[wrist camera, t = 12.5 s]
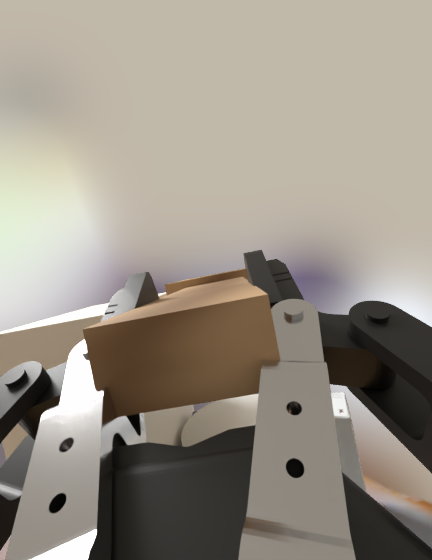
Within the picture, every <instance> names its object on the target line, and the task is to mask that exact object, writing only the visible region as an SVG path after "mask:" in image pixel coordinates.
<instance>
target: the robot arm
mask: <svg viewBox="0 0 432 560" xmlns="http://www.w3.org/2000/svg"><path fill="white" fill-rule="evenodd" d="M244 261H245V266H246V273H247V279H248V282H249V283H250V284H251V285H253V286H257V287H258V288H260V289H261V290H263V291H264V292H265V293H267V294H268V297H269V302H270V307H271V313H272V318H273V323H274V328H275V333H276V339H277V344H278V349H279V354H280V360H263V361H262V365H261V375H260V385H259V395H258V405H257V415H256V425H253V426H246V427H240V428H234V429H229V430H226V431H224V432H222V433H219V434H217V435H215V436H212V437H210V438H208V439H206V440H203V441H201V442H199V443H196V444H194V445H192V446H188V447H182V446H174V445H166V444H158V443H150V442H147V441H146V431H145V421H144V413H140V414H134V415H128V416H122V417H118V416H117V413H116V410H115V407H114V404H113V401H112V398H111V396H110V393H109V390H108V387H105V388H102V389H100V390H97V391H95V386H94V381H93V377H92V372H91V367H90V362H89V358H88V353H87V348H86V343H85V340H83V341H82V342H80V343H79V344H78V345H77V346H76V347H75V348H74V349H73V350H72V351H71V353H70V355H69V358H68V361H67V362H65V363H63V364H60V365H58V366H55V367H53V368H51V369H48V370H45V369H44V368H43V366H42V365H41V364H40V363H39V362H36V361H29V362H25V363H22V364H20V365H18V366H16V367H14V368H12V369H11V370H9V371H8V372H6V373H5V374H4V375H3V376H2V377H0V443H1V442H2V441H3V440H4V439H5V437H6V436H7V435H8V434H9V433H10V432H11V430H12V429H13V428H14V427H15V426H16V425H17V423H18V424H19V425H20V426H21V427H22V428H23V429H24V430H25V431H26V432H27V433H28V434H27V436H26V437H25V438H24V439H23V441H22V442H21V443H20V444H19V445H18V447H17V448H16V449H15V450H14V452H13V453H12V454H11V455H10V457H9V458H8V459H7V460H6V462H5V463H4V464H3V465H2V467H1V468H0V550H1V549H2V547H3V546H4V544H5V543H6V541H7V540H8V538H9V537H10V535H11V538H10V542H9V546H8V550H7V553H6V557H5V560H432V549H431V548H430V547H429V546H428V545H427V544H426V543H424V542H423V541H422V540H421V539H420V538H419V537H417V536H416V535H415V534H414V533H413V532H412V531H410V530H409V529H408V528H407V527H406V526H405V525H403V524H402V523H401V522H400V521H399V520H398V519H396V518H395V517H394V516H393V515H392V514H391V513H389V512H388V511H387V510H386V509H385V508H384V507H382V506H381V505H380V504H379V503H378V502H377V501H375V500H374V499H373V498H372V497H371V496H370V495H369V494H367V493H366V492H365V491H364V490H363V489H362V488H360V487H359V486H358V485H357V484H356V483H355V482H353V481H352V480H351V479H350V478H349V477H348V476H346V475H345V474H344V473H343V472H342V470H341V463H340V456H339V448H338V441H337V434H336V426H335V419H334V412H333V405H332V397H331V390H330V384H333V385H342V386H347V387H348V389H349V390H350V391H351V392H352V393H353V394H354V395H355V396H356V397H357V398H358V399H359V400H360V401H361V402H362V403H363V404H364V405H365V406H366V407H367V408H368V409H369V410H370V411H371V412H372V413H373V414H374V415H375V416H376V417H377V418H378V420H379V421H381V423H382V424H384V425H385V427H386V428H387V429H389V431H390V432H391V433H392V434H393V435H394V436H395V437H396V438H397V439H398V440H399V441H400V442H401V443H402V444H403V445H404V446H405V447H406V448H407V449H408V450H409V451H410V452H411V453H412V454H413V455H414V456H415V457H416V458H417V459H418V460H419V461H420V462H421V463H422V464H423V465H424V466H425V467H426V468H427V469H428V470H429V471H430V472H431V473H432V327H430V326H428V325H427V324H425V323H423V322H422V321H420V320H418V319H416V318H415V317H413V316H411V315H409V314H408V313H406V312H404V311H403V310H401V309H399V308H397V307H396V306H393V305H391V304H388V303H385V302H380V301H364V302H360V303H358V304H356V305H354V306H353V307H352V308H351V309H350V311H349V315H334V314H326V313H321V312H318V311H317V309H316V307H315V306H314V305H312V304H311V303H309V302H308V301H305V300H304V299H303V297H302V295H301V293H300V291H299V289H298V287H297V286H296V284H295V282H294V280H293V279H292V276H291V274H290V273H289V270H288V269H287V267H286V265H285V264H284V263H282V262H280V261H279V260H277V259H274V260H269V261H266V259H265V257H264V255H263V252H262V250H258V251H253V252H248V253H244ZM158 299H159V296H158V293H157V291H156V288H155V286H154V283H153V280H152V277H151V276H150V274H149V273H148V272H145V273H140V274H136V275H130V277H129V279H128V281H127V283H126V286H125V288H124V289H120V290H119V291H118V292H117V293H116V294H115V295H114V296H113V297H112V298H111V300H110V302H109V304H108V308H107V309H106V311H105V315H103V318H102V320H101V322H102V321H105V320H107V319H110V318H112V317H115V316H117V315H120V314H122V313H125V312H127V311H130V310H132V309H136V308H138V307H141V306H143V305H145V304H148V303H150V302H153V301H155V300H158Z"/></svg>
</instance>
